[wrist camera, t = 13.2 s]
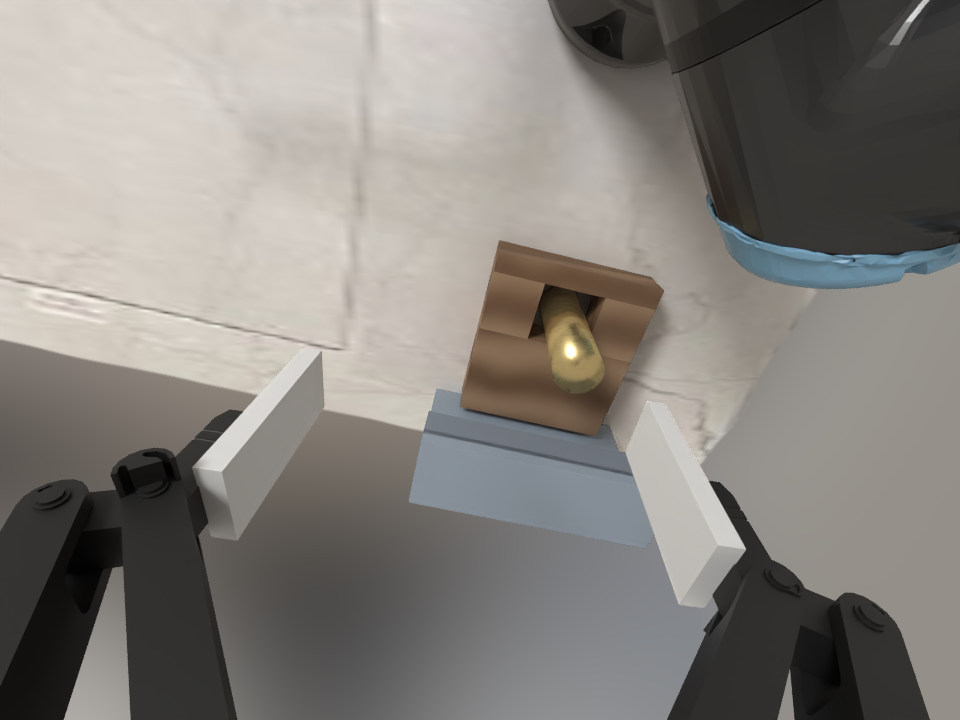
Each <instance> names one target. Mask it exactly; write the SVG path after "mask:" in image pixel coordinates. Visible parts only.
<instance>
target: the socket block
mask: <svg viewBox="0 0 960 720" xmlns="http://www.w3.org/2000/svg"><path fill="white" fill-rule="evenodd" d="M545 284H548V285H553V286H557V287H561V288H565V289H569V290H573V291H578V292H582V293H586V294H590V295H593V297H592V300H591V303H590V305H589V308H588V310H587V313H586V316H585V318H586V320H587V323H588V325H589V328H590V330H591V333H592V335H593V338H594V340H595V343H596V345H597V348H598V350H599V353H600V355H601V358H602V360H603V363H604V367H605V373H604V377H603V379H602V381H601V382H600V383H599V384H598V385H597V386H596V387H595V388H594V389H592V390H590V391H588V392H584V393H569V392H566V391H564V390H562V389H561V388H559V387H558V386H557V385H556V383H555V381H554V379H553V375H552V369H551V363H550V358H549V352H548V347H547V341H546V335H545V330H544V327H541V326H537V325H532V323H533V320H534V317H535V314H536V311H537V308H538V304H539V301H540V298H541V295H542V292H543V289H544V286H545ZM663 292H664V290H663V289H662V288H661V287H660V286H659V285H658V284H657V283H656V282H655V281H654V280H653V279H652V278H651V277H647V276H643V275H639V274H635V273H631V272H627V271H623V270H619V269H615V268H611V267H606V266H602V265H598V264H594V263H590V262H586V261H582V260H578V259H574V258H570V257H566V256H561V255H557V254H553V253H549V252H545V251H541V250H537V249H533V248H529V247H525V246H521V245H516V244H512V243H508V242H504V241H500V240H499V243H498V248H497V252H496V256H495V260H494V264H493V268H492V272H491V276H490V280H489V284H488V288H487V292H486V296H485V300H484V304H483V308H482V312H481V316H480V320H479V324H478V328H477V332H476V336H475V340H474V344H473V348H472V352H471V356H470V360H469V364H468V368H467V372H466V376H465V380H464V384H463V388H462V395H461V401H460V407H463V408H467V409H472V410H476V411H481V412H486V413H490V414H495V415H500V416H504V417H509V418H514V419H518V420H523V421H528V422H532V423H537V424H541V425H546V426H551V427H555V428H560V429H565V430H569V431H574V432H579V433H583V434H588V435H593V436H596V435H597V433H598V431H599V429H600V427H601V425H602V422H603V420H604V418H605V416H606V414H607V412H608V410H609V407H610V405H611V403H612V401H613V399H614V397H615V395H616V393H617V390H618V388H619V386H620V384H621V382H622V380H623V378H624V375H625V373H626V371H627V369H628V367H629V365H630V363H631V361H632V358H633V356H634V354H635V352H636V350H637V348H638V346H639V344H640V341H641V339H642V337H643V335H644V333H645V331H646V329H647V326H648V324H649V322H650V320H651V318H652V316H653V314H654V312H655V309H656V307H657V305H658V303H659V301H660V299H661V297H662V295H663Z"/></svg>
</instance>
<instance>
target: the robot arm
mask: <svg viewBox="0 0 960 720" xmlns="http://www.w3.org/2000/svg"><path fill="white" fill-rule="evenodd" d="M548 1H549V4H550V7H551V9H552V12H553V14H554V17H555V19H556V21H557V23H558V24H559V26H560V28H561V29H562V31H563V33H564V34H565V35H566V37H567V38H568V39H569V40H570V41H571V43H572V44H573V45H574V46H575V47H576V48H577V49H579V50H580V51H581V52H582V53H584V54H585V55H586V56H588V57H590V58H591V59H593V60H595V61H597V62H600V63H602V64H605V65H608V66H613V67H619V68H637V67H643V66H648V65H652V64H655V63H658V62H660V61H663V60H665V59H667V58H668V60H669V63H670V67H671V70H672V76H673V80H674V83H675V86H676V89H677V93H678V96H679V99H680V103H681V106H682V109H683V112H684V116H685V119H686V122H687V126H688V129H689V132H690V135H691V139H692V142H693V145H694V149H695V152H696V155H697V158H698V162H699V165H700V168H701V171H702V175H703V178H704V181H705V185H706V188H707V191H708V194H707V197H706V200H707V205H708V209H709V212H710V214H711V216H712V217H713V218H714V219H715V221H716V223H717V224H718V225H719V228H720V231H721V233H722V236H723V239H724V242H725V244H726V247H727V249H728V251H729V253H730V254H731V256H732V257H733V258H734V259H735V260H736V261H737V262H738V263H739V264H740V265H741V266H742V267H743V268H745V269H746V270H747V271H749V272H751V273H752V274H754V275H757V276H759V277H761V278H763V279H766V280H769V281H772V282H776V283H780V284H784V285H789V286H797V287H805V288H819V289H846V288H860V287H869V286H877V285H883V284H889V283H894V282H898V281H900V280H901V279H902V278H903V276H904V273H918V274H929V273H932V272H935V271H938V270H941V269H944V268H946V267H949V266H951V265H954V264H956V263H958V262H960V0H548ZM323 408H324V389H323V370H322V352H321V351H320V350H314V349H307V348H301V350H300V351H299V352H298V353H297V354H296V355H295V356H294V357H293V358H292V359H291V360H290V362H289V363H288V364H287V365H286V366H285V367H284V368H283V369H282V370H281V371H280V372H279V373H278V375H277V376H276V377H275V378H274V379H273V380H272V381H271V382H270V383H269V384H268V385H267V387H266V388H265V389H264V390H263V391H262V392H261V393H260V394H259V395H258V396H257V397H256V399H255V400H254V401H253V402H252V403H251V404H250V405H249V406H248V407H247V408H246V409H245V411H244V412H243V411H237V410H228V411H226V412H225V413H223V414H221V415H219V416H217V417H215V418H214V419H213V420H212V421H211V422H210V423H209V424H208V425H207V426H206V427H205V428H204V430H203V431H201V432H200V433H199V434H198V435H197V436H196V437H195V439H194V440H192V441H191V442H190V443H189V444H188V445H187V446H186V447H185V448H184V449H183V450H182V451H181V452H180V453H179V454H178V455H177V456H176V457H175V456H174V454H173V453H172V452H171V451H169V450H166V449H161V448H151V449H145V450H141V451H138V452H135V453H133V454H130V455H128V456H127V457H125V458H123V459H122V460H120V461H119V462H118V463H117V464H116V465H115V466H114V467H113V469H112V472H111V478H112V480H113V482H114V485H115V487H116V490H110V491H99V492H89V490H88V488H87V486H86V485H85V484H84V483H83V482H81V481H78V480H74V479H73V480H60V481H56V482H52V483H48V484H46V485H43V486H41V487H39V488H37V489H34V490H33V491H31V492H30V493H28V494H27V495H25V496H24V497H23V498H22V499H21V500H20V501H19V502H18V503H17V505H16V506H15V508H14V509H13V511H12V513H11V515H10V516H9V518H8V519H7V521H6V523H5V524H4V526H3V528H2V529H1V531H0V720H64V717H65V713H66V711H67V707H68V704H69V701H70V698H71V695H72V692H73V689H74V686H75V682H76V679H77V677H78V673H79V670H80V667H81V664H82V661H83V658H84V655H85V652H86V649H87V646H88V642H89V639H90V636H91V633H92V630H93V627H94V624H95V621H96V617H97V614H98V611H99V608H100V605H101V602H102V599H103V596H104V592H105V590H106V587H107V584H108V580H109V577H110V574H111V571H112V568H114V567H121V566H123V569H124V589H125V590H124V591H125V609H126V632H127V653H128V673H129V694H130V713H131V720H237V716H236V711H235V706H234V701H233V697H232V692H231V687H230V682H229V677H228V673H227V668H226V663H225V658H224V654H223V649H222V645H221V639H220V634H219V630H218V625H217V620H216V615H215V610H214V606H213V601H212V596H211V591H210V587H209V582H208V577H207V573H206V568H205V563H204V558H203V553H202V549H201V543H200V540H199V536H198V535H199V534H200V533H201V531H202V530H203V529H204V527H205V526H206V525H207V524H208V527H209V531H210V535H211V537H217V538H224V539H231V540H238V538H239V537H240V535H241V534H242V532H243V531H244V529H245V528H246V526H247V524H248V523H249V522H250V520H251V518H252V517H253V515H254V514H255V512H256V511H257V509H258V508H259V506H260V505H261V503H262V502H263V500H264V499H265V497H266V495H267V494H268V492H269V491H270V489H271V488H272V486H273V485H274V483H275V482H276V480H277V478H278V477H279V476H280V474H281V472H282V471H283V469H284V468H285V466H286V465H287V463H288V462H289V460H290V459H291V457H292V455H293V454H294V452H295V451H296V449H297V448H298V446H299V445H300V443H301V442H302V440H303V439H304V437H305V436H306V434H307V432H308V431H309V429H310V428H311V426H312V425H313V423H314V422H315V420H316V418H317V417H318V416H319V414H320V412H321V411H322V409H323ZM625 453H626V456H627V458H628V461H629V464H630V467H631V470H632V473H633V475H634V478H635V481H636V484H637V487H638V490H639V493H640V495H641V498H642V501H643V504H644V507H645V510H646V513H647V515H648V518H649V521H650V524H651V527H652V530H653V532H654V535H655V538H656V541H657V544H658V547H659V549H660V552H661V555H662V558H663V561H664V564H665V567H666V569H667V572H668V575H669V578H670V581H671V583H672V587H673V589H674V592H675V595H676V598H677V601H678V604H679V605H684V606H691V607H698V608H705V606H706V605H707V604H708V602H709V601H710V600H711V598H712V597H713V598H714V600H715V602H716V604H717V607H718V609H719V610H718V611H717V612H716V614H715V615H714V616H713V618H712V619H711V620H710V622H709V623H708V624H707V626H706V627H705V629H704V631H705V632H706V635H705V637H704V639H703V641H702V643H701V646H700V648H699V650H698V652H697V655H696V657H695V659H694V661H693V663H692V665H691V668H690V670H689V672H688V675H687V677H686V679H685V681H684V683H683V685H682V688H681V690H680V692H679V694H678V697H677V699H676V701H675V703H674V705H673V708H672V710H671V712H670V714H669V716H668V719H667V720H777V718H778V714H779V710H780V706H781V702H782V698H783V694H784V690H785V686H786V682H787V678H788V673H789V669H790V672H791V684H792V695H793V707H794V718H795V720H930V719H929V716H928V713H927V710H926V707H925V704H924V701H923V697H922V695H921V691H920V688H919V686H918V682H917V679H916V676H915V673H914V670H913V668H912V664H911V661H910V658H909V655H908V652H907V649H906V646H905V643H904V640H903V637H902V634H901V632H900V630H899V628H898V626H897V624H896V623H895V621H893V619H892V618H891V617H890V616H889V615H888V613H887V612H885V611H884V610H883V609H882V608H880V607H879V606H878V605H877V604H875V603H874V602H872V601H871V600H869V599H867V598H865V597H863V596H861V595H857V594H855V593H844V594H842V595H841V596H840V597H839V598H838V599H837V600H836V601H834V600H831V599H829V598H827V597H824V596H822V595H819V594H817V593H814V592H812V591H810V590H807V589H805V588H804V586H803V584H802V582H801V581H800V580H799V579H798V578H797V576H795V574H794V573H793V572H791V571H790V570H789V569H787V568H786V567H785V566H783V565H781V564H779V563H777V562H775V561H773V560H771V558H770V556H769V555H768V553H767V551H766V550H765V548H764V546H763V545H762V543H761V542H760V540H759V538H758V536H757V535H756V533H755V532H754V530H753V528H752V526H751V525H750V523H749V522H748V521H747V518H746V516H745V515H744V513H743V511H741V510H740V507H739V505H738V503H737V501H736V500H735V498H734V496H733V495H732V494H731V493H730V492H729V491H728V490H727V489H726V488H725V487H724V486H723V485H722V484H721V483H720V482H713V481H708V479H707V478H706V476H705V474H704V472H703V471H702V469H701V467H700V465H699V463H698V461H697V460H696V458H695V456H694V454H693V452H692V451H691V449H690V447H689V445H688V443H687V442H686V440H685V438H684V436H683V434H682V433H681V431H680V429H679V427H678V425H677V424H676V422H675V420H674V418H673V416H672V414H671V413H670V411H669V409H668V407H667V405H666V404H665V403H659V402H652V401H646V404H645V406H644V408H643V411H642V413H641V416H640V418H639V420H638V423H637V425H636V428H635V430H634V432H633V435H632V437H631V440H630V442H629V444H628V447H627V449H626V452H625Z"/></svg>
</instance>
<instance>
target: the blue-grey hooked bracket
mask: <svg viewBox="0 0 960 720" xmlns="http://www.w3.org/2000/svg"><path fill="white" fill-rule="evenodd" d="M461 395H462V394H458V393H453V392H448V391H444V390H439V389H437V390H436V394H435V398H434V402H433V406H432V410H431V411H429V413H428V417H427V420H426V424H425V428H424V432H423V436H422V440H421V444H420V449H419V454H418V459H417V463H416V468H415V474H414V478H413V483H412V488H411V493H410V498H409V502H410V503H416V504H421V505H426V506H431V507H436V508H441V509H446V510H451V511H456V512H461V513H466V514H471V515H476V516H481V517H486V518H491V519H497V520H502V521H506V522H512V523H516V524H522V525H527V526H532V527H537V528H542V529H547V530H552V531H557V532H562V533H567V534H572V535H578V536H582V537H588V538H592V539H597V540H602V541H608V542H612V543H617V544H622V545H628V546H633V547H638V548H643V549H645V548H646V547H647V545H648V544H649V542H650V540H651V539H652V537H653V536H654V532H653V530H652V527H651V524H650V521H649V518H648V515H647V513H646V510H645V507H644V504H643V501H642V498H641V495H640V493H639V490H638V487H637V484H636V481H635V478H634V475H633V473H632V470H631V467H630V464H629V461H628V458H627V456H626V453H624V452H619V451H618V448H617V445H616V442H615V439H614V437H613V434H612V431H611V428H610V427H609V426H605V425H601V427H600V429H599V431H598V433H597V435H596V436H593V435H588V434H583V433H579V432H574V431H569V430H565V429H560V428H555V427H551V426H546V425H541V424H537V423H532V422H528V421H523V420H518V419H514V418H509V417H504V416H500V415H495V414H490V413H486V412H481V411H476V410H472V409H467V408H463V407H460V401H461Z"/></svg>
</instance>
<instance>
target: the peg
mask: <svg viewBox="0 0 960 720" xmlns="http://www.w3.org/2000/svg"><path fill="white" fill-rule="evenodd" d="M540 307H541V313H542V319H543V324H544V330H545V335H546V341H547V347H548V352H549V358H550V363H551V369H552V375H553V379H554V381H555V383H556V385H557V386H558V387H559V388H561V389H562V390H564V391H566V392H569V393H584V392H588V391H590V390H592V389H594V388H595V387H596V386H597V385H598V384H599V383H600V382H601V381H602V379H603V377H604V373H605V367H604V363H603V360H602V358H601V355H600V353H599V350H598V348H597V345H596V343H595V340H594V338H593V335H592V333H591V330H590V328H589V325H588V323H587V320H586V318H585V315H584V313H583V310H582V308H581V305H580V303H579V300H578V298H577V295H576V294H575V292H574V291H573V290H569V289H565V288H561V287H554V288H551V289H549V290H548V291H547V292H546V293H545V294H544V295H543V297H542V299H541V303H540Z"/></svg>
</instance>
